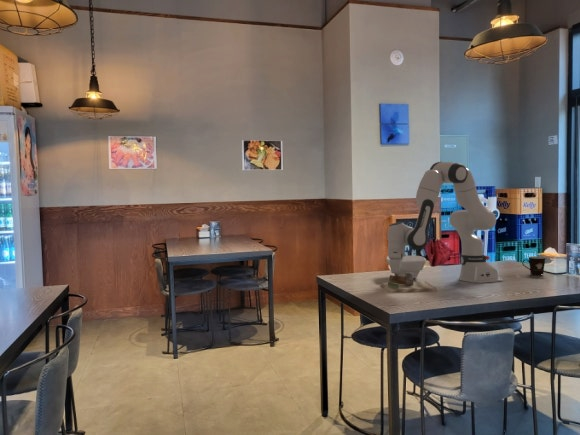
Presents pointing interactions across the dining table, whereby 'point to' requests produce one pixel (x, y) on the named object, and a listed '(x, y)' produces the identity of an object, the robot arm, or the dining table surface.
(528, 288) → the dining table surface
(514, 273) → the dining table surface
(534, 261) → the coffee mug
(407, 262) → the bowl
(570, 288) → the dining table surface
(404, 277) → the tuning peg
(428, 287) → the tuner board
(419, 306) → the dining table surface
